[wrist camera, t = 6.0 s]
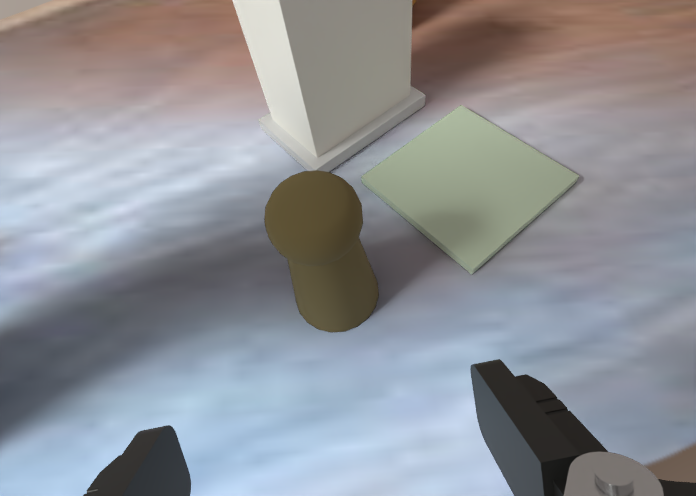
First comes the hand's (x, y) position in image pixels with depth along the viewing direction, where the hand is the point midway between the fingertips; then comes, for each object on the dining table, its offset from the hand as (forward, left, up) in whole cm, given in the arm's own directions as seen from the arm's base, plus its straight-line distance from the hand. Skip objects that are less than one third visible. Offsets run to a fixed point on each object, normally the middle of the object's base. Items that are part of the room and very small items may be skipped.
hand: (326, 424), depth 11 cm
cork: (+6, +10, -15) cm, 19 cm away
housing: (+18, +24, -15) cm, 33 cm away
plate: (+20, +10, -15) cm, 27 cm away
